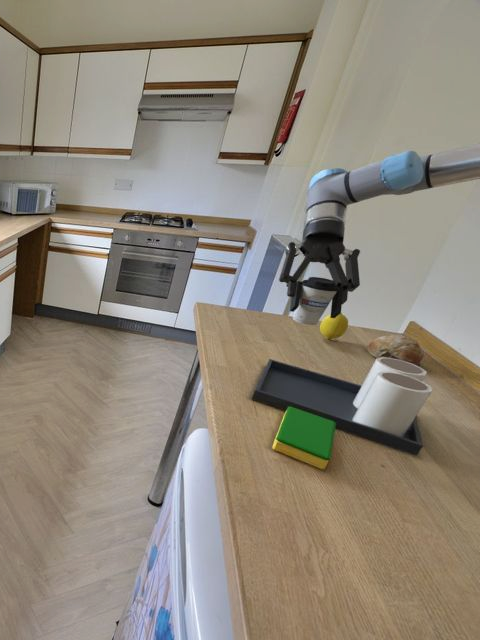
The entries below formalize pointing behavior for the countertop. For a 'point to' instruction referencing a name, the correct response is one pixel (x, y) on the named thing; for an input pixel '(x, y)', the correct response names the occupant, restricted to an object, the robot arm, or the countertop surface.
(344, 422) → the cup tray
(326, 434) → the dish sponge
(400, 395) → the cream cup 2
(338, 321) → the lemon
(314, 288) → the coffee cup
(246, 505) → the countertop surface
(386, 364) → the cream cup
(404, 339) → the bread roll
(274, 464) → the countertop surface
